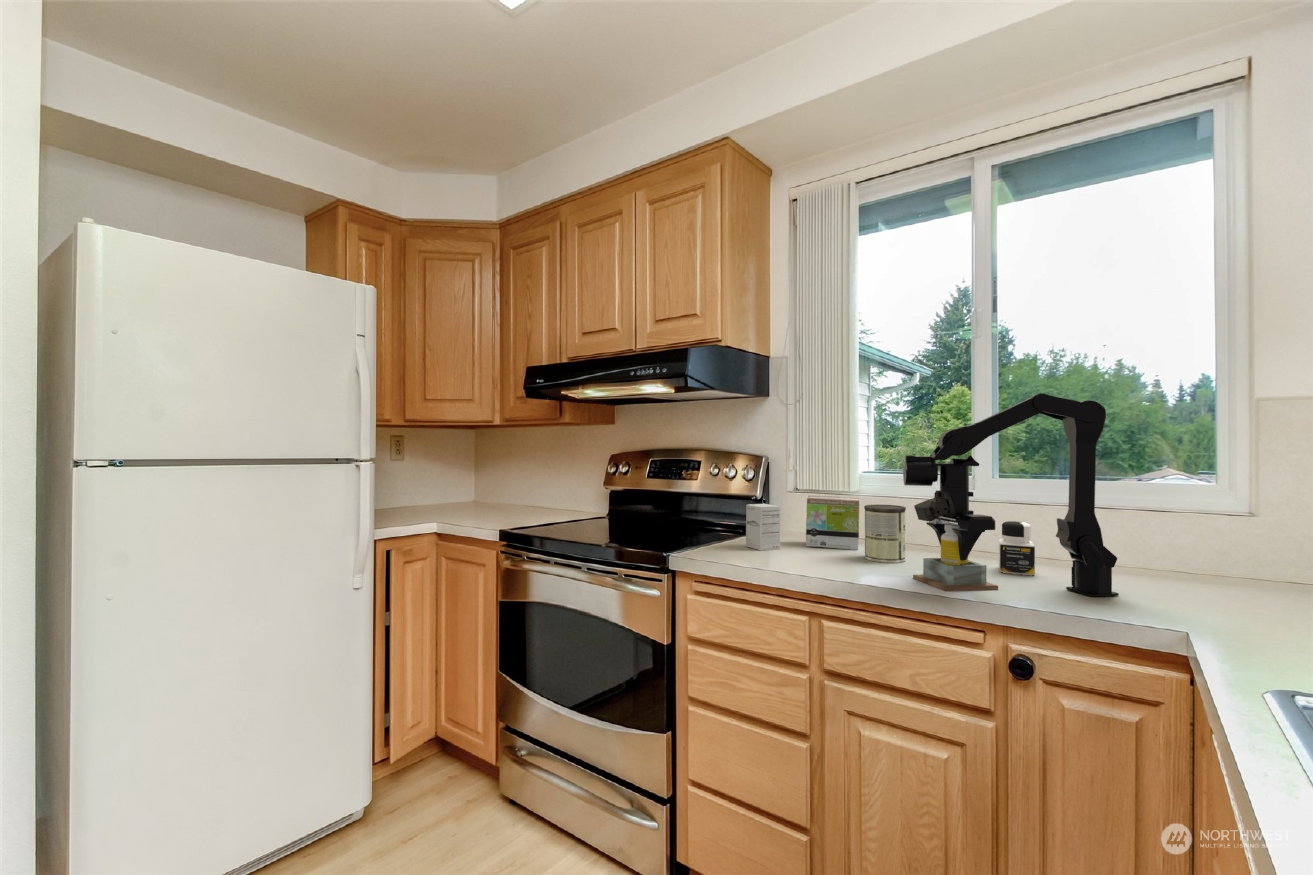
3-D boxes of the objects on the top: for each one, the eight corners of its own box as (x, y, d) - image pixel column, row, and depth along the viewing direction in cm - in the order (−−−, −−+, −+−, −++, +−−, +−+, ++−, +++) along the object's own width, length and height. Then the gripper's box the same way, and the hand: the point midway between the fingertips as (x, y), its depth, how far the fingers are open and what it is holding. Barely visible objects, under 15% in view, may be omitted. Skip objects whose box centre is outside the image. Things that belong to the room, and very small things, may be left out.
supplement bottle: (963, 572, 127) (963, 526, 127) (937, 569, 131) (937, 524, 131) (971, 569, 131) (971, 524, 131) (945, 565, 134) (945, 522, 135)
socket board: (998, 589, 126) (998, 566, 126) (946, 591, 124) (946, 568, 124) (961, 576, 137) (961, 556, 137) (913, 578, 136) (913, 557, 136)
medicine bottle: (999, 572, 142) (999, 522, 143) (998, 567, 149) (998, 519, 149) (1035, 576, 139) (1035, 524, 139) (1032, 570, 145) (1032, 521, 146)
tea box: (805, 547, 176) (805, 497, 176) (807, 542, 185) (807, 494, 185) (859, 550, 171) (859, 499, 171) (858, 545, 181) (858, 496, 181)
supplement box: (745, 546, 176) (745, 504, 176) (765, 545, 179) (766, 503, 179) (759, 551, 169) (759, 506, 169) (780, 549, 172) (781, 505, 172)
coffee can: (860, 555, 164) (860, 504, 164) (898, 556, 163) (898, 504, 163) (869, 562, 154) (869, 508, 154) (911, 563, 153) (911, 508, 153)
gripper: (897, 484, 139) (897, 551, 139) (947, 490, 120) (947, 567, 120) (940, 483, 141) (940, 549, 140) (997, 489, 122) (997, 565, 122)
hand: (954, 557), depth 131 cm, fingers closed on supplement bottle, 5 cm apart
